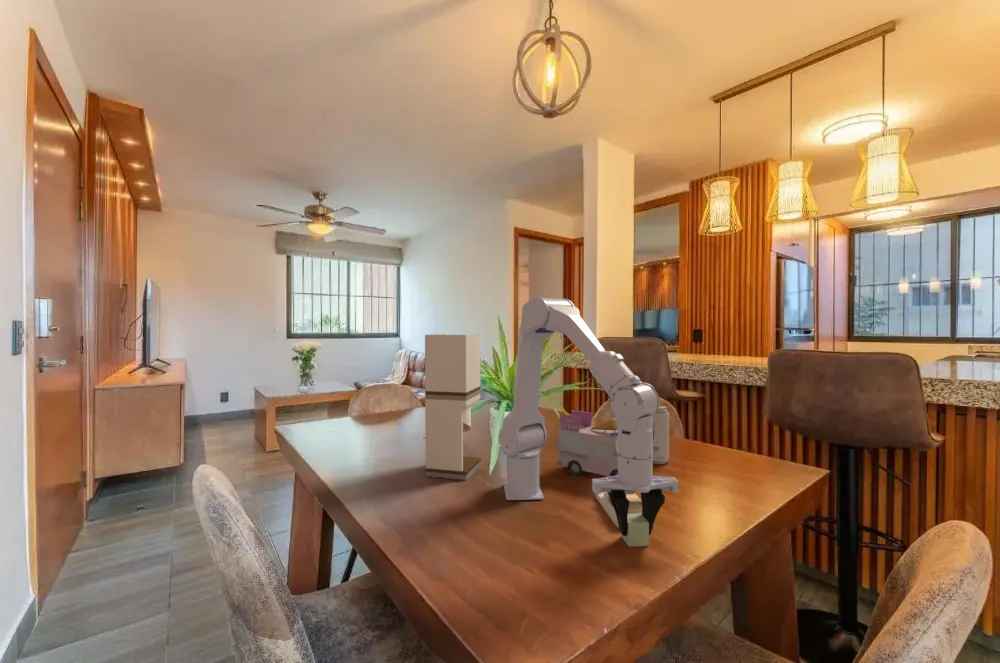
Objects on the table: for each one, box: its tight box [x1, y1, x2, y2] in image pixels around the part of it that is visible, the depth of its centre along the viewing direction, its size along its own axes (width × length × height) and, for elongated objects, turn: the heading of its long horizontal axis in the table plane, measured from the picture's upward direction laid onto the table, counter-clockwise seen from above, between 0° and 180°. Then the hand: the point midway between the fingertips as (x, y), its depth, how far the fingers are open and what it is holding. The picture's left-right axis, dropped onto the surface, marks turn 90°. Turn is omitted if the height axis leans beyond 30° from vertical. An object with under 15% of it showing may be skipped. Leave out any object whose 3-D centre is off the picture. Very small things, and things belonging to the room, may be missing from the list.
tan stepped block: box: [606, 492, 642, 514], centre depth 86 cm, size 11×4×5 cm, turn 3°
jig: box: [595, 492, 655, 529], centre depth 86 cm, size 14×7×1 cm, turn 3°
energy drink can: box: [652, 404, 670, 465], centre depth 117 cm, size 6×6×15 cm
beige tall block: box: [424, 333, 482, 481], centre depth 110 cm, size 11×11×35 cm
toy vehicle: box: [556, 409, 618, 477], centre depth 106 cm, size 9×20×15 cm, turn 53°
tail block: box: [621, 513, 650, 548], centre depth 74 cm, size 4×4×4 cm
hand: (634, 532), depth 74 cm, fingers closed on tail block, 3 cm apart
